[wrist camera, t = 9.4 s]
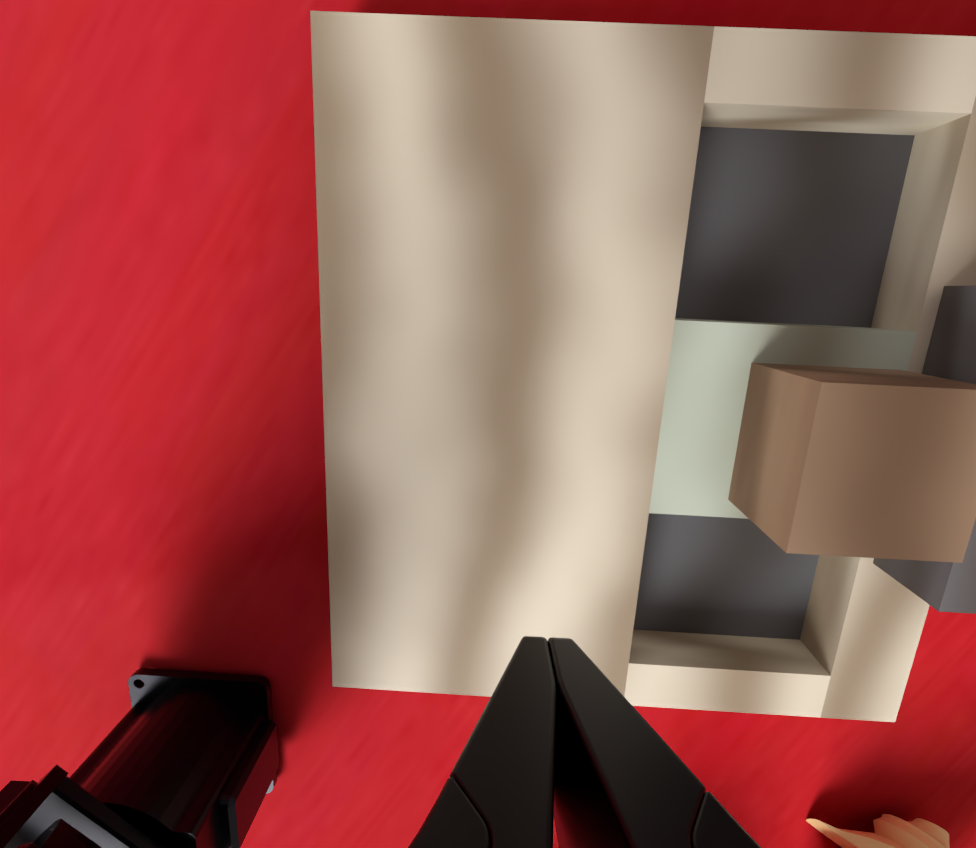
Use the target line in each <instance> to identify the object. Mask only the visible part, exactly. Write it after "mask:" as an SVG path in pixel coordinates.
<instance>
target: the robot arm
mask: <svg viewBox="0 0 976 848" xmlns="http://www.w3.org/2000/svg"><path fill="white" fill-rule="evenodd" d="M141 680H142V681H141ZM128 685H129V691H130V698H131V705H132V709H131V710H130V711H129V712H128V713H127V714H126V715H125V717H124V718H123V719H122V720H121V721H120V722H119V723H118V724H117V725H116V727H115V728H114V729H113V730H112V731H111V732H110V733H109V734H108V735H107V737H106V738H105V739H104V740H103V741H102V742H101V743H100V744H99V745H98V747H97V748H96V749H95V750H94V751H93V752H92V753H91V754H90V755H89V757H88V758H87V759H86V760H85V761H84V762H83V763H82V764H81V765H80V767H79V768H78V769H77V770H76V771H75V772H74V773H73V774H72V775H71V777H70V778H69V777H67V774H68V772H66V771H65V770H63V769H62V768H61V767H59V766H58V765H56V766H55V767H54V768H52V769H51V770H50V771H49V772H48V773H47V774H46V775H45V776H44V777H43V778H42V779H41V780H40V781H39V782H38V783H37V782H35V781H34V780H32V781H31V782H28V781H10V782H9V783H8V784H7V785H6V786H5V787H4V788H3V789H2V790H1V791H0V848H240V847H241V845H242V843H243V841H244V839H245V836H246V834H247V832H248V830H249V828H250V826H251V824H252V822H253V820H254V818H255V816H256V813H257V811H258V809H259V807H260V805H261V803H262V801H263V799H264V797H265V795H266V794H267V793H270V792H271V791H272V790H273V788H274V786H275V784H276V781H277V769H278V767H279V749H278V734H277V724H276V723H275V721H274V720H273V714H272V699H271V685H270V682H269V681H268V680H267V679H266V678H265V677H262V676H253V675H237V674H222V673H206V672H190V671H174V670H158V669H139V670H137V671H136V672H135V673H134V674H133V675H132V676H131V677H130V678H129V681H128ZM256 687H259V688H260V689H261V690H260V689H257V688H256ZM553 817H554V820H555V826H556V832H557V838H558V844H559V848H761V847H760V846H759V845H758V844H757V843H756V842H755V840H754V839H753V838H752V837H751V836H750V835H749V834H748V833H747V832H746V831H745V830H744V829H743V828H742V827H741V826H740V825H739V823H738V822H737V821H736V820H735V819H734V818H733V817H732V816H731V815H730V814H729V813H728V812H727V811H726V809H725V808H724V807H723V806H722V805H721V804H720V803H719V802H718V800H717V799H716V798H715V797H714V796H713V795H712V794H711V793H710V792H706V788H705V786H704V785H703V784H702V783H701V782H700V781H699V780H698V779H697V777H696V776H695V775H694V774H693V773H692V772H691V771H690V770H689V768H688V767H687V766H686V765H685V764H684V763H683V762H682V761H681V760H680V758H679V757H678V756H677V755H676V754H675V753H674V752H673V751H672V750H671V748H670V747H669V746H668V745H667V744H666V743H665V742H664V741H663V740H662V738H661V737H660V736H659V735H658V734H657V733H656V732H655V731H654V729H653V728H652V727H651V726H650V725H649V724H648V723H647V722H646V721H645V719H644V718H643V717H642V716H641V715H640V714H639V713H638V712H637V711H636V709H635V708H634V707H633V706H632V705H631V704H630V703H629V702H628V701H627V699H626V698H625V697H624V696H623V695H622V694H621V693H620V692H619V690H618V689H617V688H616V687H615V686H614V685H613V684H612V683H611V682H610V680H609V679H608V678H607V677H606V676H605V675H604V674H603V673H602V672H601V670H600V669H599V668H598V667H597V666H596V665H595V664H594V663H593V662H592V660H591V659H590V658H589V657H588V656H587V655H586V654H585V653H584V652H583V650H582V649H581V648H580V647H579V646H578V645H577V644H576V643H575V641H573V640H572V639H570V638H555V637H551V638H549V639H548V641H547V639H546V638H544V637H535V636H524V637H523V638H522V639H521V641H520V643H519V645H518V646H517V648H516V650H515V652H514V654H513V656H512V658H511V660H510V662H509V664H508V666H507V667H506V669H505V671H504V673H503V675H502V677H501V679H500V681H499V683H498V685H497V687H496V688H495V690H494V692H493V694H492V696H491V698H490V700H489V702H488V704H487V706H486V708H485V709H484V711H483V713H482V715H481V717H480V719H479V721H478V723H477V725H476V727H475V729H474V730H473V732H472V734H471V736H470V738H469V740H468V742H467V744H466V746H465V748H464V750H463V751H462V753H461V755H460V757H459V759H458V761H457V763H456V765H455V767H454V769H453V771H452V772H451V775H450V778H449V779H448V780H447V781H446V783H445V785H444V787H443V789H442V791H441V793H440V795H439V797H438V799H437V800H436V802H435V804H434V806H433V807H432V809H431V811H430V813H429V814H428V816H427V818H426V820H425V821H424V823H423V825H422V827H421V828H420V830H419V832H418V833H417V835H416V837H415V838H414V840H413V841H412V843H411V844H410V846H409V847H408V848H553Z"/></svg>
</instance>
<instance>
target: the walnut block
mask: <svg viewBox="0 0 976 848" xmlns="http://www.w3.org/2000/svg"><path fill="white" fill-rule="evenodd" d="M728 500H729V501H730V502H731V503H732V504H733V505H735V506H736V507H737V508H738V509H739V510H740V511H741V512H742V513H743V514H744V515H745V516H746V517H748V518H749V519H750V520H751V521H752V522H753V523H754V524H755V525H756V526H757V527H758V528H760V529H761V530H762V531H763V532H764V533H765V534H766V535H767V536H768V537H769V538H770V539H772V540H773V541H774V542H775V543H776V544H777V545H778V546H779V547H780V548H781V549H782V550H783V551H785V552H786V553H792V554H810V555H828V556H846V557H865V558H883V559H901V560H919V561H937V562H955V563H962V562H963V559H964V555H965V552H966V549H967V545H968V542H969V539H970V536H971V532H972V529H973V526H974V522H975V519H976V384H971V383H966V382H961V381H956V380H951V379H945V378H940V377H935V376H930V375H924V374H919V373H914V372H909V371H903V370H892V369H871V368H850V367H830V366H809V365H788V364H767V363H751V368H750V374H749V380H748V386H747V392H746V398H745V403H744V409H743V415H742V421H741V427H740V432H739V438H738V444H737V450H736V456H735V462H734V467H733V473H732V479H731V485H730V491H729V497H728Z"/></svg>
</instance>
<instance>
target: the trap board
mask: <svg viewBox="0 0 976 848" xmlns="http://www.w3.org/2000/svg"><path fill="white" fill-rule="evenodd" d="M310 16H311V47H312V77H313V108H314V138H315V168H316V199H317V229H318V260H319V290H320V320H321V351H322V381H323V412H324V442H325V472H326V503H327V533H328V564H329V594H330V624H331V655H332V685H333V687H347V688H363V689H379V690H395V691H410V692H426V693H442V694H458V695H473V696H489V697H491V696H492V694H493V692H494V690H495V688H496V687H497V685H498V683H499V681H500V679H501V677H502V675H503V673H504V671H505V669H506V667H507V666H508V664H509V662H510V660H511V658H512V656H513V654H514V652H515V650H516V648H517V646H518V645H519V643H520V641H521V639H522V638H523V637H524V636H535V637H544V638H546V639H547V641H548V639H549V638H551V637H555V638H570V639H572V640H573V641H575V643H576V644H577V645H578V646H579V647H580V648H581V649H582V650H583V652H584V653H585V654H586V655H587V656H588V657H589V658H590V659H591V660H592V662H593V663H594V664H595V665H596V666H597V667H598V668H599V669H600V670H601V672H602V673H603V674H604V675H605V676H606V677H607V678H608V679H609V680H610V682H611V683H612V684H613V685H614V686H615V687H616V688H617V689H618V690H619V692H620V693H621V694H622V695H623V696H624V697H625V698H626V699H627V701H628V702H629V703H630V704H631V705H632V706H647V707H663V708H678V709H694V710H710V711H726V712H741V713H757V714H773V715H789V716H804V717H820V718H836V719H852V720H868V721H883V722H895V721H896V718H897V714H898V711H899V707H900V704H901V701H902V697H903V694H904V690H905V687H906V684H907V680H908V677H909V673H910V670H911V667H912V663H913V660H914V656H915V653H916V650H917V646H918V643H919V639H920V636H921V633H922V629H923V626H924V622H925V619H926V616H927V612H928V609H929V605H931V606H932V607H933V608H935V609H936V610H937V611H941V612H957V613H974V614H976V519H975V522H974V526H973V529H972V532H971V536H970V539H969V542H968V545H967V549H966V552H965V555H964V559H963V562H962V563H955V562H937V561H919V560H901V559H883V558H865V557H846V556H828V555H810V554H792V553H786V552H785V551H783V550H782V549H781V548H780V547H779V546H778V545H777V544H776V543H775V542H774V541H773V540H772V539H770V538H769V537H768V536H767V535H766V534H765V533H764V532H763V531H762V530H761V529H760V528H758V527H757V526H756V525H755V524H754V523H753V522H752V521H751V520H750V519H749V518H748V517H746V516H745V515H744V514H743V513H742V512H741V511H740V510H739V509H738V508H737V507H736V506H735V505H733V504H732V503H731V502H730V501H729V500H728V497H729V491H730V485H731V479H732V473H733V467H734V462H735V456H736V450H737V444H738V438H739V432H740V427H741V421H742V415H743V409H744V403H745V398H746V392H747V386H748V380H749V374H750V368H751V363H767V364H788V365H809V366H830V367H850V368H871V369H892V370H903V371H909V372H914V373H919V374H924V375H930V376H935V377H940V378H945V379H951V380H956V381H961V382H966V383H971V384H976V36H953V35H927V34H901V33H875V32H849V31H823V30H797V29H770V28H744V27H718V26H692V25H666V24H640V23H614V22H588V21H562V20H536V19H510V18H484V17H457V16H431V15H405V14H379V13H353V12H327V11H310Z"/></svg>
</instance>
